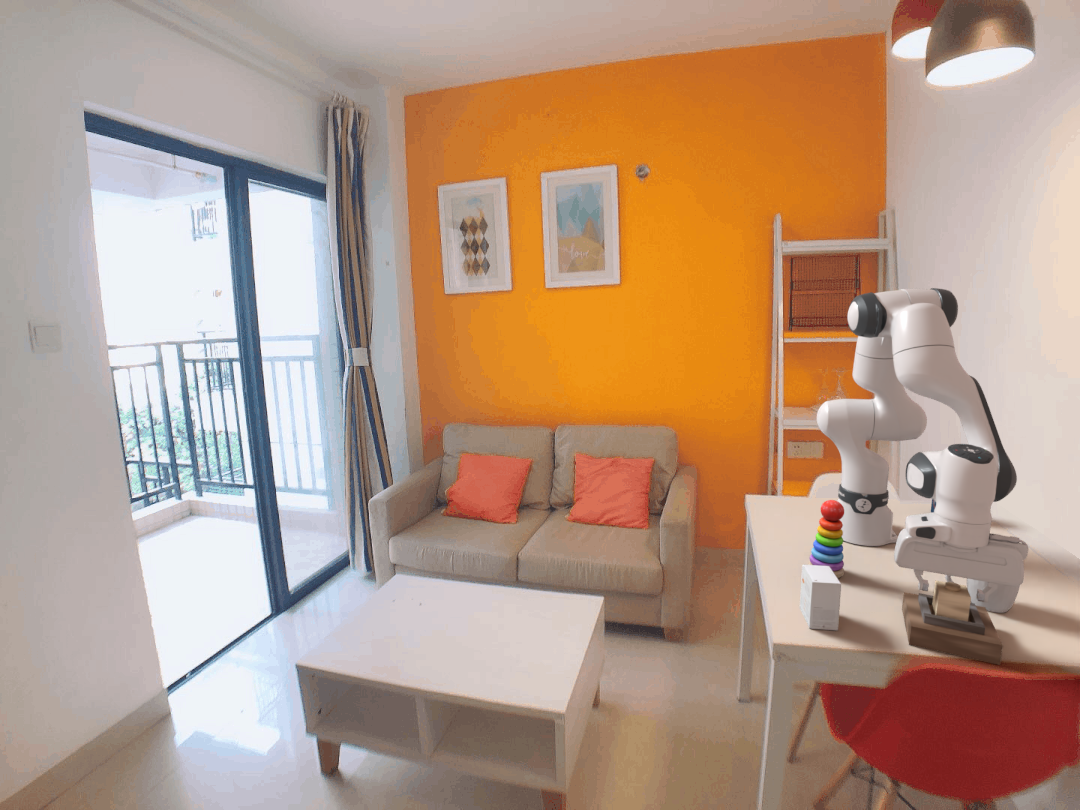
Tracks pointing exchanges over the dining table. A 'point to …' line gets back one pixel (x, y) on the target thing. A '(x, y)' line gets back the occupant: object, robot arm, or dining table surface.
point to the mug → (992, 595)
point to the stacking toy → (829, 538)
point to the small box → (820, 597)
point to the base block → (951, 630)
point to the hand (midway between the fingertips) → (951, 594)
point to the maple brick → (951, 600)
